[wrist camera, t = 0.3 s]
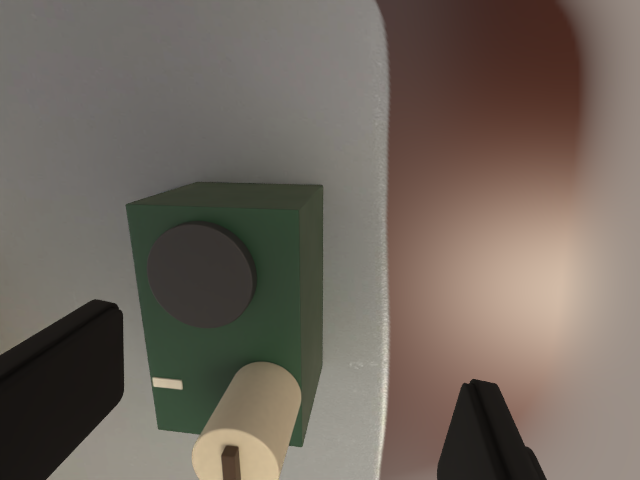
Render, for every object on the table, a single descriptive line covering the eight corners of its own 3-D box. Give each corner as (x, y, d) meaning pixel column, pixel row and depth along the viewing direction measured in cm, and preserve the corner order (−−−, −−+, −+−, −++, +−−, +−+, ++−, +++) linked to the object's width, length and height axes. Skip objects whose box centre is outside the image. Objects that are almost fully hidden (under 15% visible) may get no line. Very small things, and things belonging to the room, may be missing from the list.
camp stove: (196, 181, 27) (114, 207, 19) (323, 185, 26) (295, 213, 18) (212, 355, 31) (150, 439, 23) (322, 365, 30) (299, 459, 22)
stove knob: (229, 357, 21) (179, 434, 16) (301, 364, 21) (273, 446, 15) (234, 417, 22) (188, 508, 17) (302, 425, 22) (276, 522, 17)
